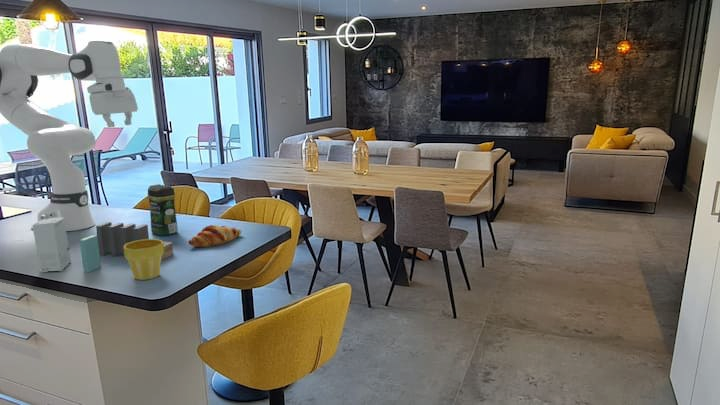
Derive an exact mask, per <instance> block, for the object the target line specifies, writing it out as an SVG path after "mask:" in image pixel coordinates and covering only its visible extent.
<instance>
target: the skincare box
mask: <svg viewBox="0 0 720 405" xmlns="http://www.w3.org/2000/svg"><path fill="white" fill-rule="evenodd" d="M32 226H33V229H32V230H33V237H34V241H35V243H34V244H35V247H36V248H35V249H36V254H37V261H38V266H39V272H40V273H49V272H48V271H59V272H62V271H63V270H64V269H65V268H66V267H67V266H69V265H70V264H72V259H71V252H70V247H69V246H70V245H69V239H68V235H67V231H66V227H65V220H64V217H62V218H48V219H43V220H41V221H38V220H37V222H36V223H34V224H32ZM69 263H70V264H69ZM61 270H62V271H61Z"/></svg>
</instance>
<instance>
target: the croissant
mask: <svg viewBox="0 0 720 405" xmlns="http://www.w3.org/2000/svg"><path fill="white" fill-rule="evenodd" d="M242 232H243V231H242V229H238V228H236V227H229V226H227V225H222V226H219V225H216V224H211V225H207V226H205V227H203V228H202V229H201V231H199V232H198V233H196V235H195V236H193V237H192V238H191V239H189V240H188V242H187V243H188V244H189V245H190V246H192V247H200V248H208V247H217V246H220V245H223V244H224V243H225V244H227V243H229V242H230V241H233V240H235V239H236V238H238V237H240V236H241V235H242Z"/></svg>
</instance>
